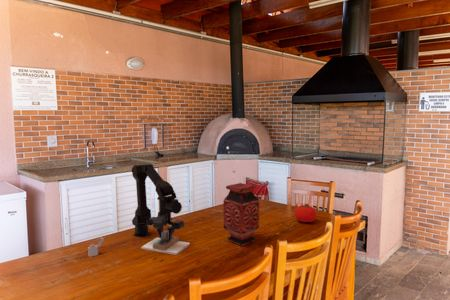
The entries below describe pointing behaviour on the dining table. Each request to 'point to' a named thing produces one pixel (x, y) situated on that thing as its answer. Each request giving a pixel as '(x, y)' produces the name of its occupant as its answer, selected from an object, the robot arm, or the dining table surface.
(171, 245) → the seat board
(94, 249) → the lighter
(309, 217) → the tomato
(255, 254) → the dining table surface
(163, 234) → the grey block
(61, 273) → the dining table surface
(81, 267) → the dining table surface
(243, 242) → the vase
